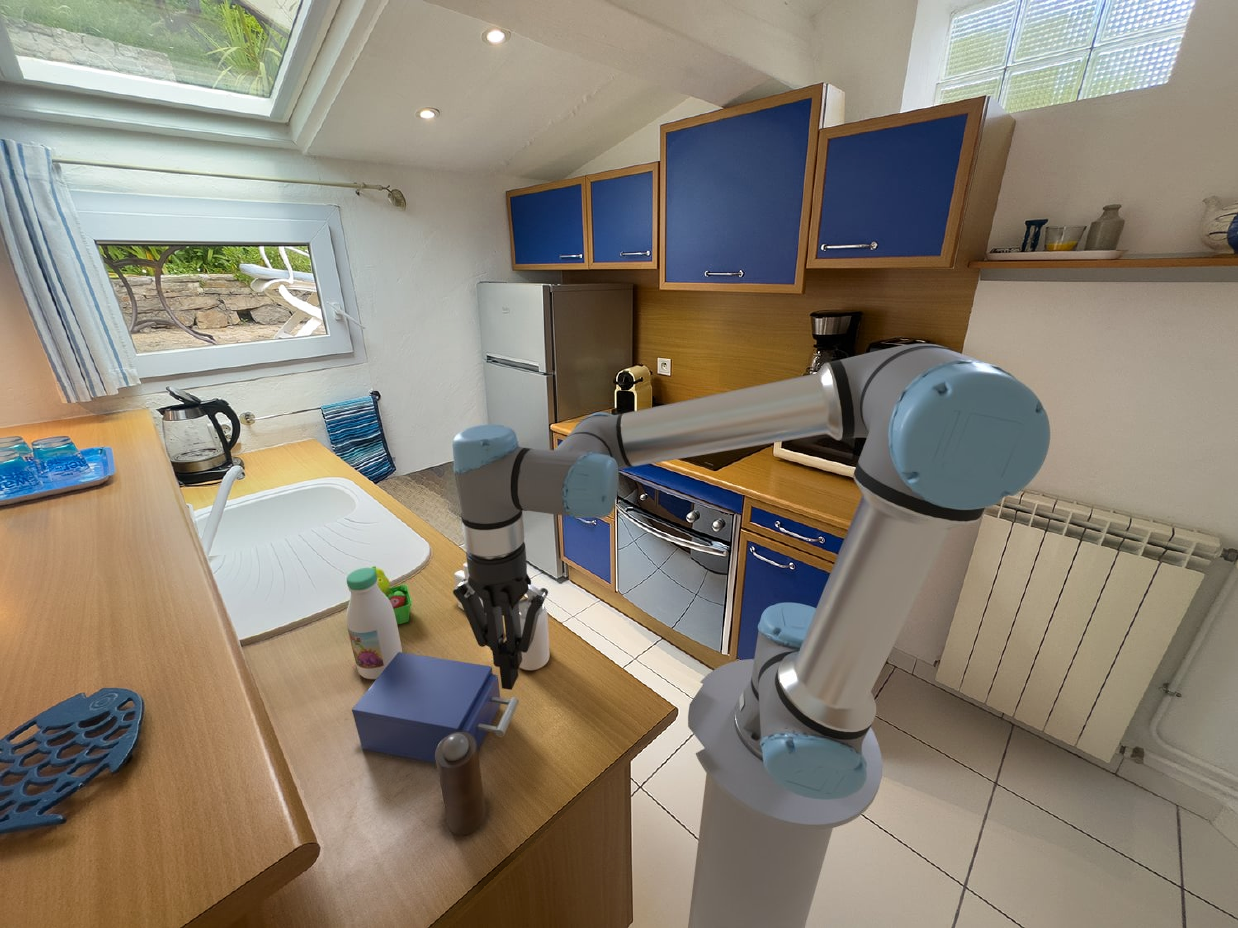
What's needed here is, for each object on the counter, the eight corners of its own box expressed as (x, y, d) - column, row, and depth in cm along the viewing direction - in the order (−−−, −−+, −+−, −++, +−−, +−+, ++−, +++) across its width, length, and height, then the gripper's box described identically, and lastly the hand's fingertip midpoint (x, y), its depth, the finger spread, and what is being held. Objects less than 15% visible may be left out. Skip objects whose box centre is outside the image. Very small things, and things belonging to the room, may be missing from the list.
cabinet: (496, 703, 84) (492, 666, 80) (463, 768, 73) (457, 728, 70) (406, 688, 86) (398, 651, 83) (362, 748, 76) (351, 709, 72)
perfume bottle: (488, 617, 104) (483, 569, 99) (481, 622, 102) (475, 573, 97) (465, 601, 108) (459, 555, 103) (457, 606, 107) (451, 559, 102)
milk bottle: (388, 643, 96) (370, 556, 88) (412, 660, 92) (395, 571, 84) (349, 667, 90) (326, 577, 83) (372, 687, 86) (350, 594, 79)
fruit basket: (354, 642, 96) (342, 595, 92) (351, 616, 103) (340, 571, 99) (416, 623, 101) (407, 578, 97) (409, 599, 109) (401, 556, 104)
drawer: (525, 707, 82) (523, 678, 79) (500, 767, 72) (496, 736, 70) (415, 689, 85) (410, 660, 83) (377, 743, 75) (369, 713, 73)
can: (507, 661, 92) (502, 610, 88) (532, 641, 97) (528, 591, 93) (533, 677, 89) (529, 624, 84) (556, 655, 94) (554, 604, 89)
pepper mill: (491, 800, 69) (481, 724, 63) (476, 839, 64) (463, 761, 58) (458, 794, 69) (445, 718, 64) (440, 831, 65) (424, 753, 59)
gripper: (552, 534, 66) (560, 668, 75) (462, 525, 68) (480, 657, 77) (533, 566, 59) (544, 709, 68) (433, 554, 61) (457, 695, 70)
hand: (510, 681), depth 73 cm, fingers closed
